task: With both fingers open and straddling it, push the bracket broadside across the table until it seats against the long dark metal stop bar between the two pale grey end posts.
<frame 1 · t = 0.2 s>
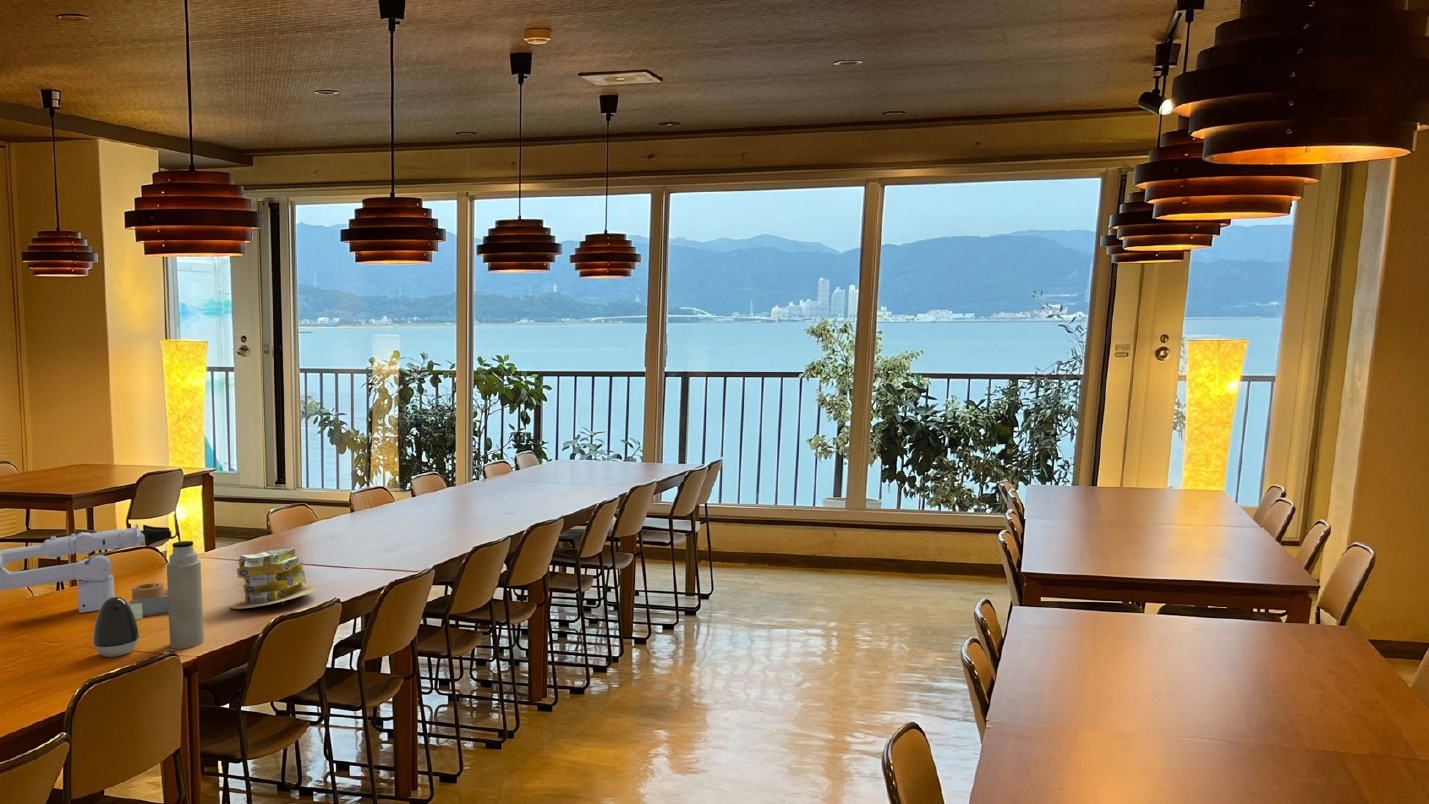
hand: (170, 532, 295), 21 cm above the table, tool horizontal, fingers open, 7 cm apart
grey white egg device: (117, 654, 242), on the table
stacked boxes on plate: (274, 603, 290), on the table
stop bar: (163, 612, 279), on the table
thermos bottle: (187, 644, 250), on the table
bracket: (161, 604, 290), on the table
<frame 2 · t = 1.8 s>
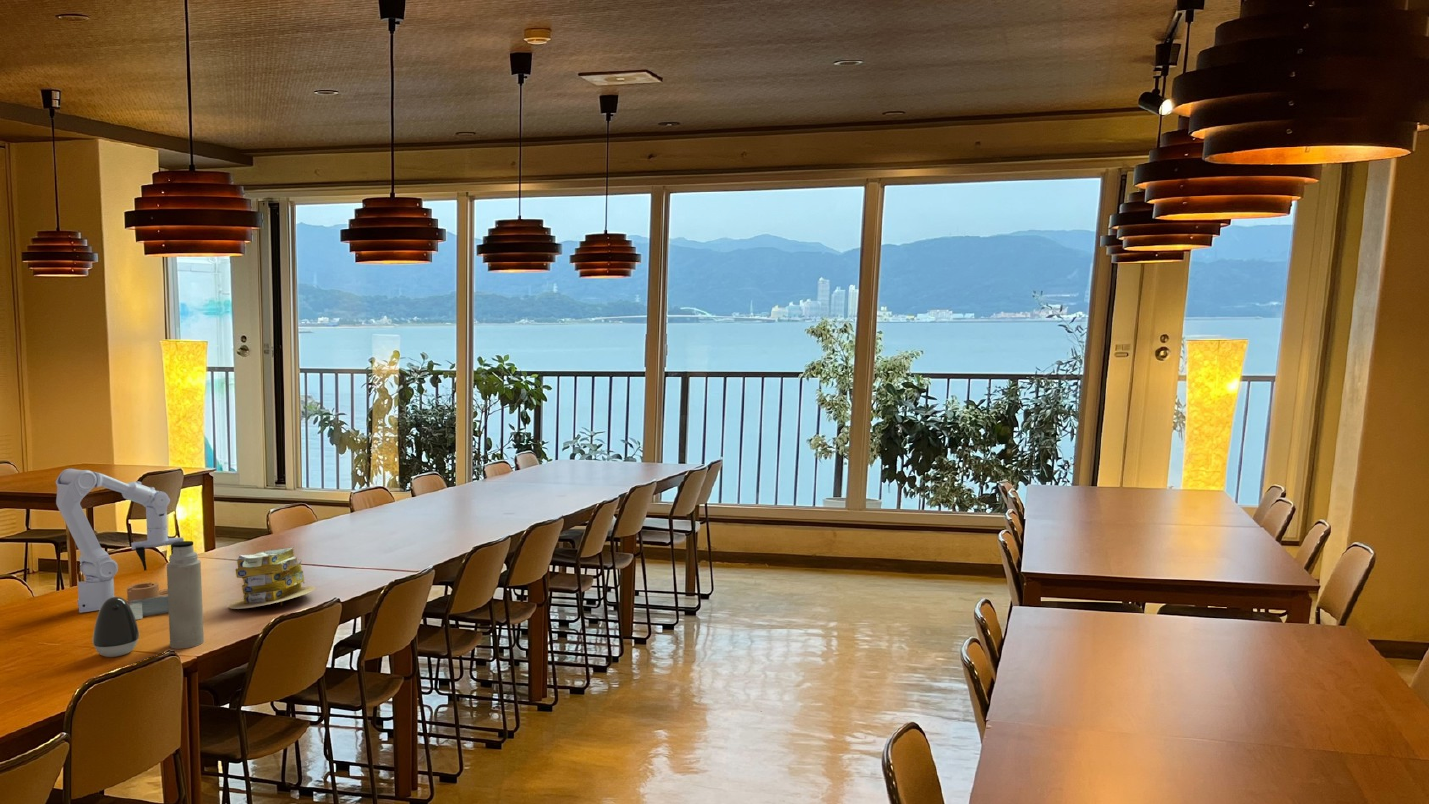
hand: (159, 568, 301), 8 cm above the table, tool pointing down, fingers open, 7 cm apart
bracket: (158, 604, 290), on the table
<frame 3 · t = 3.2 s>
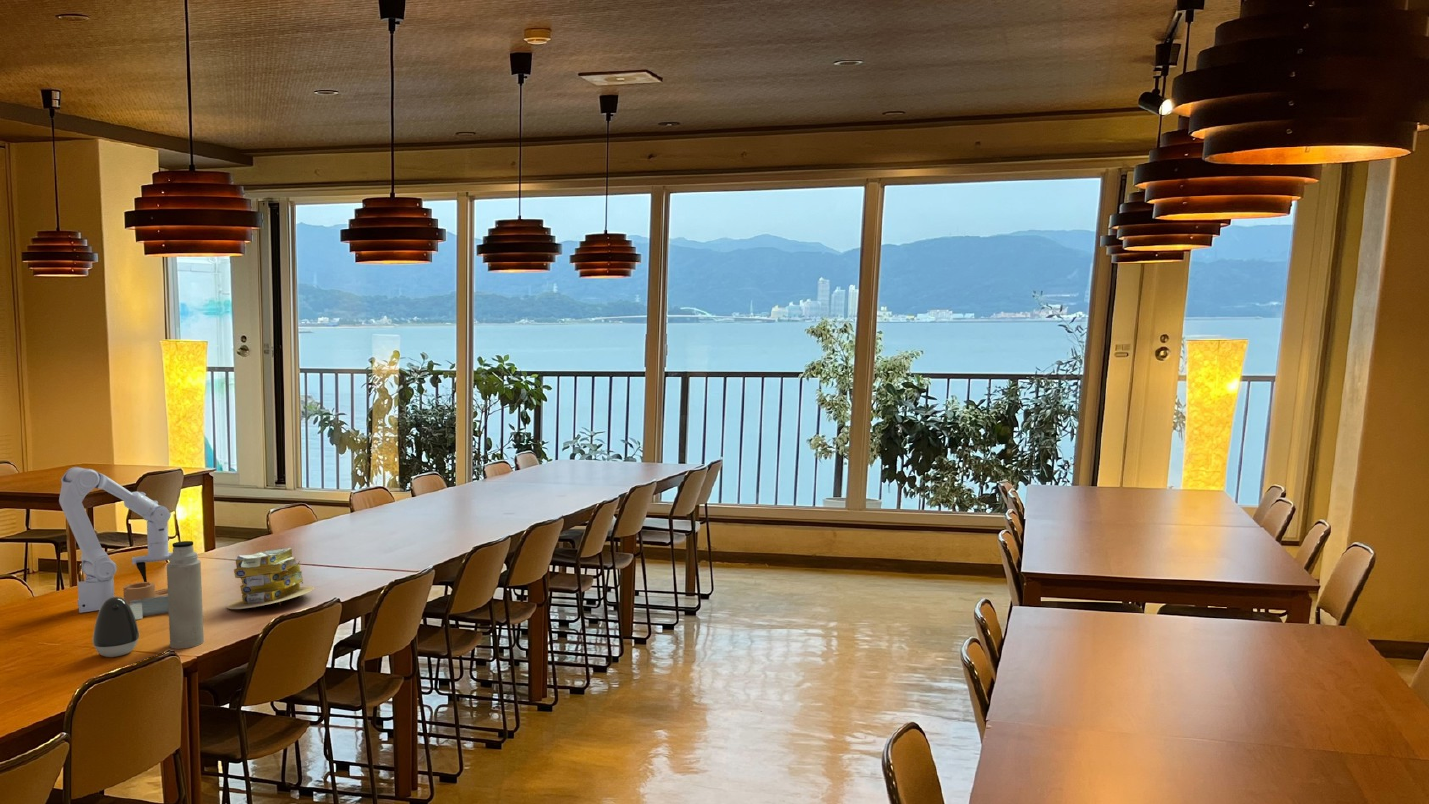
hand: (159, 583, 299), 4 cm above the table, tool pointing down, fingers open, 7 cm apart
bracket: (155, 604, 291), on the table
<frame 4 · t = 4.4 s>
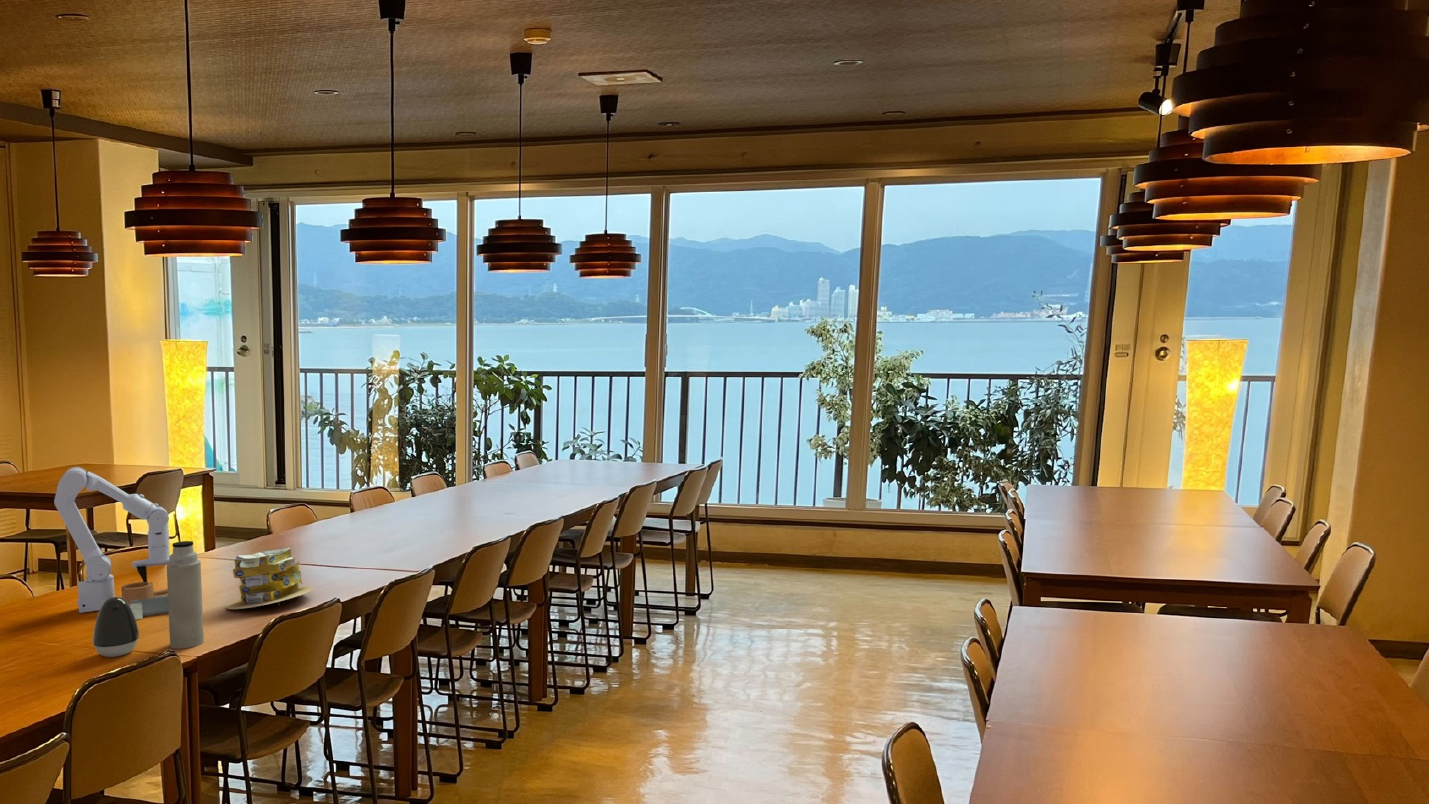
hand: (160, 587, 294), 4 cm above the table, tool pointing down, fingers open, 7 cm apart
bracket: (154, 604, 290), on the table, touching gripper
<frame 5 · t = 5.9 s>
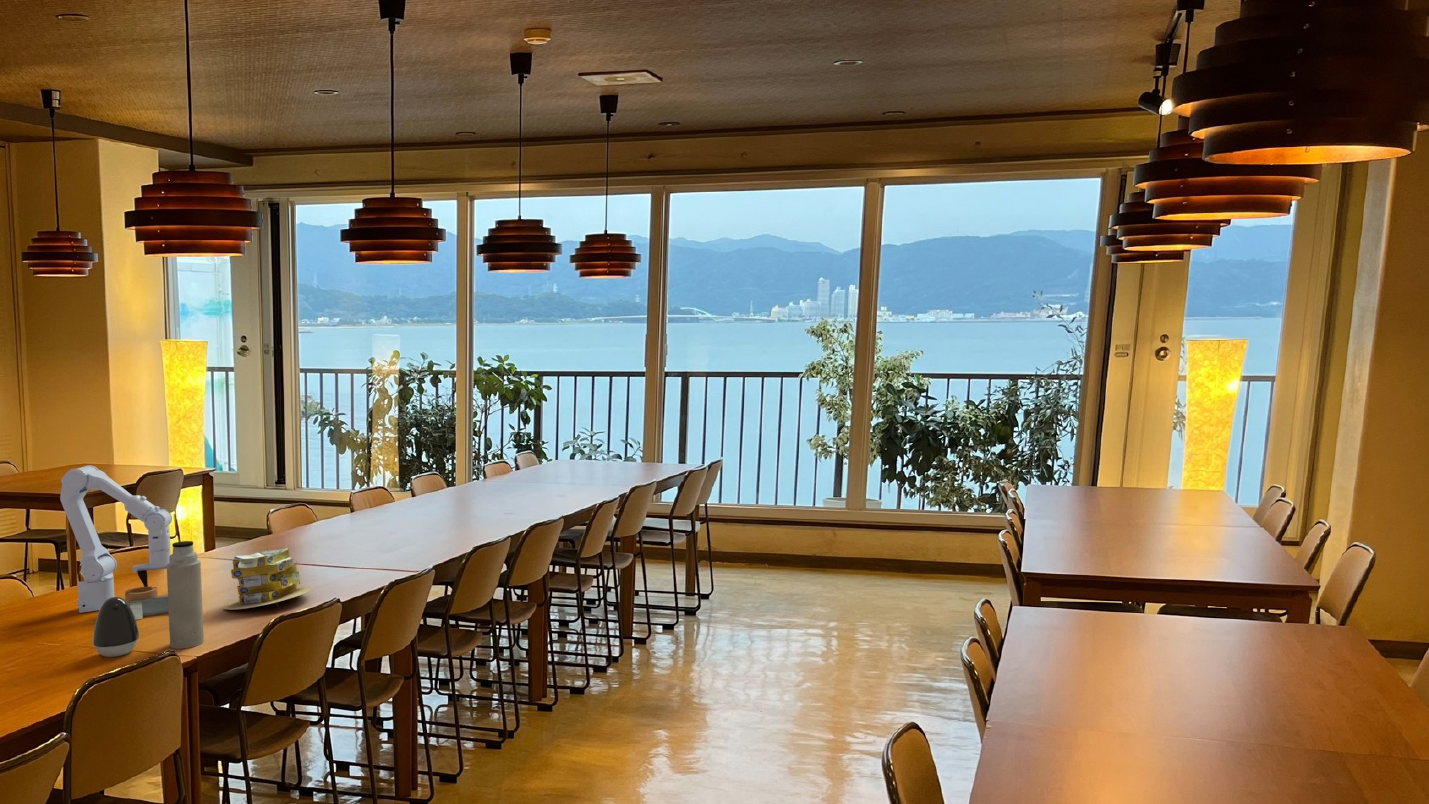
hand: (161, 592, 288), 4 cm above the table, tool pointing down, fingers open, 7 cm apart
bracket: (158, 608, 285), on the table, touching gripper
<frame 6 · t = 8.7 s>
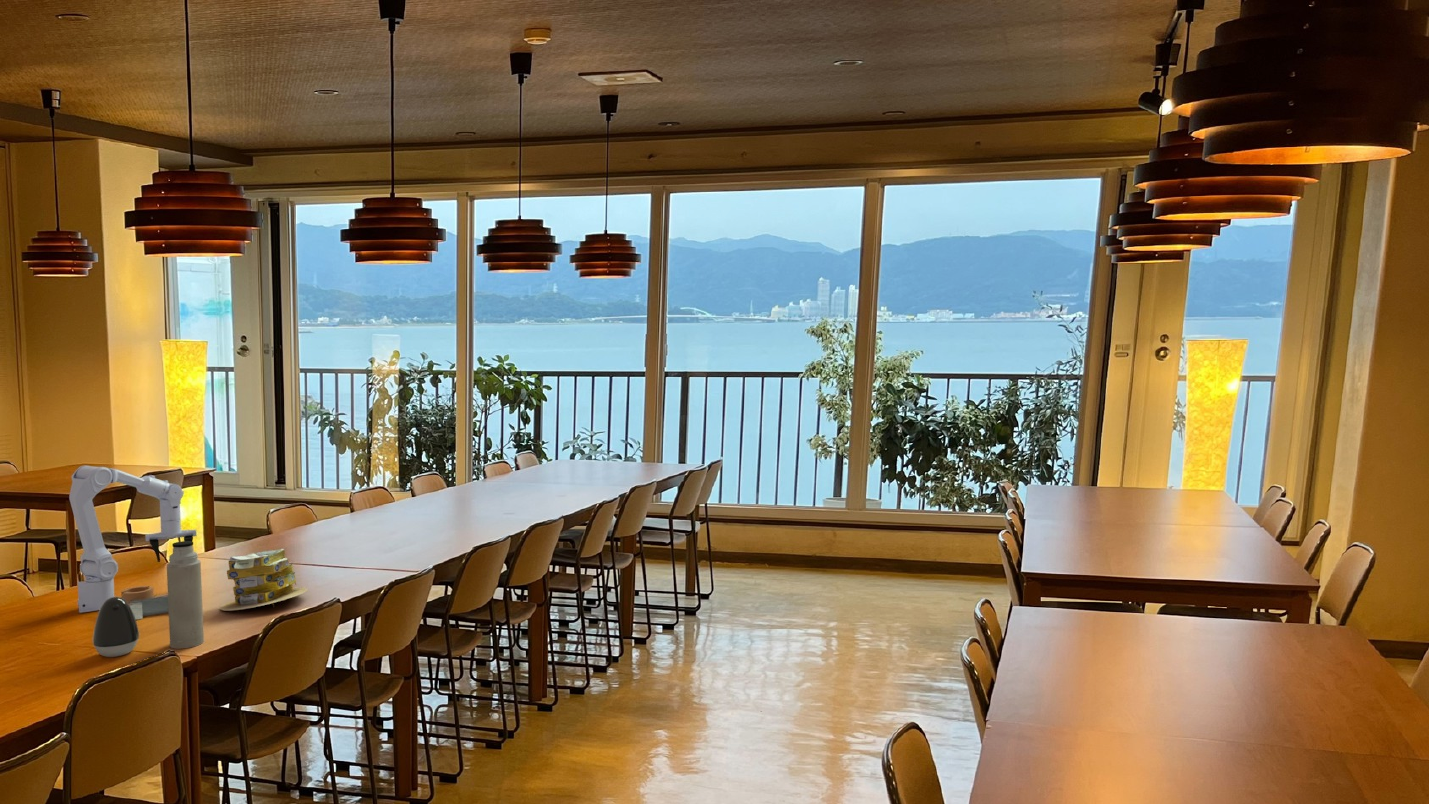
hand: (172, 559, 306), 10 cm above the table, tool pointing down, fingers open, 7 cm apart
stacked boxes on plate: (264, 604, 288), on the table
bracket: (155, 608, 285), on the table
everything else where it was.
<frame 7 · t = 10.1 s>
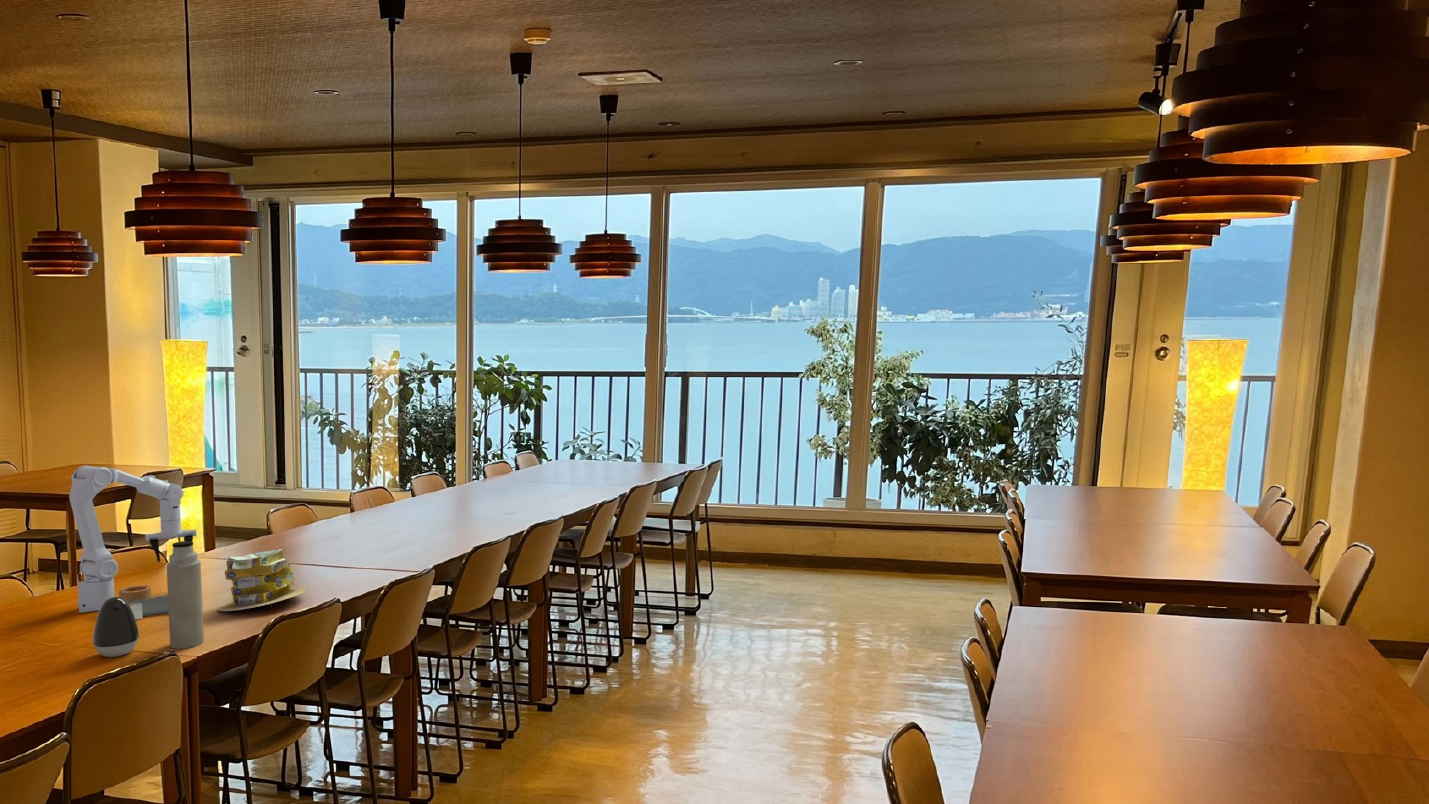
hand: (172, 559, 306), 10 cm above the table, tool pointing down, fingers open, 7 cm apart
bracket: (153, 608, 286), on the table
at the end: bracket inside the target area (3.9 cm from its centre), on the table; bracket moved 4.1 cm from its start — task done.
